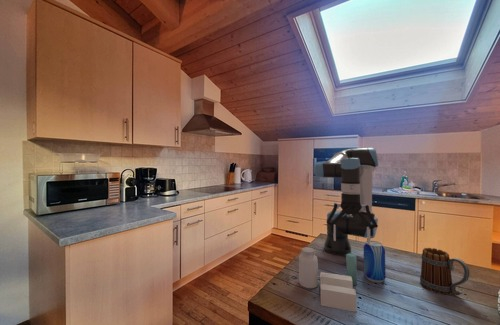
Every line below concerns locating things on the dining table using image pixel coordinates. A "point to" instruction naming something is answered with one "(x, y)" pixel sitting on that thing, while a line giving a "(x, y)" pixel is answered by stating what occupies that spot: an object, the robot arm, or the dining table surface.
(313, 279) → the pill bottle
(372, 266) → the beer can
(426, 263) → the mug
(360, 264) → the dining table surface
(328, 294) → the socket
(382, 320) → the dining table surface
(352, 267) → the peg
